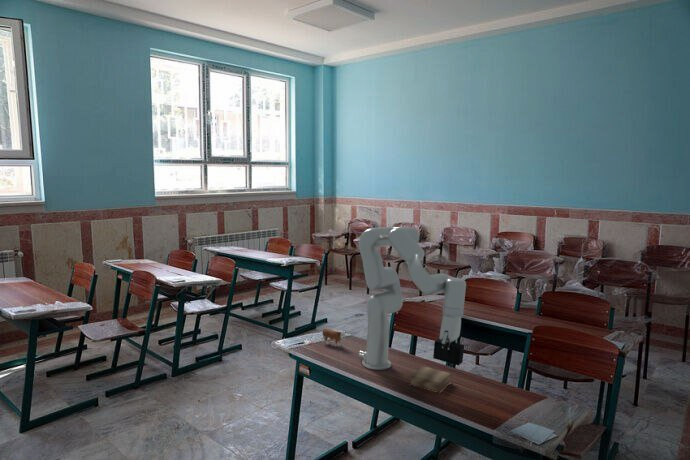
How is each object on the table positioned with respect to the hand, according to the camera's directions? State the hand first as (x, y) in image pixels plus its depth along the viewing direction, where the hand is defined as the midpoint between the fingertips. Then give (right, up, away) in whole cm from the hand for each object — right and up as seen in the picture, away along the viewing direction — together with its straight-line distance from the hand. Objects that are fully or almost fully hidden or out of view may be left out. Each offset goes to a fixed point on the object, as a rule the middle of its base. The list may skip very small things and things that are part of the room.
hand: (448, 356), depth 187 cm
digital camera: (0, -2, 0) cm, 2 cm away
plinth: (-5, -13, +9) cm, 17 cm away
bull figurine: (-45, -8, +49) cm, 67 cm away
